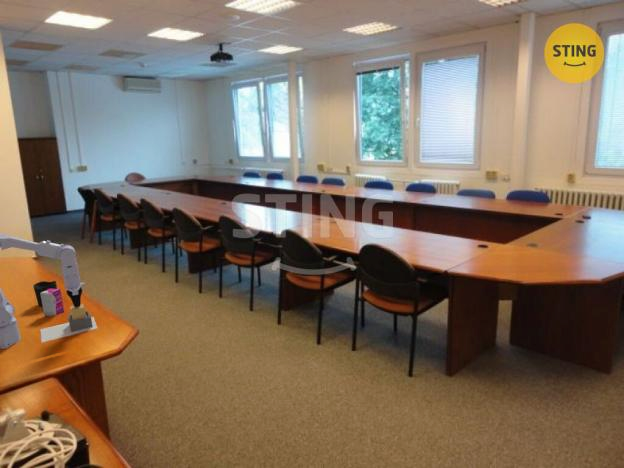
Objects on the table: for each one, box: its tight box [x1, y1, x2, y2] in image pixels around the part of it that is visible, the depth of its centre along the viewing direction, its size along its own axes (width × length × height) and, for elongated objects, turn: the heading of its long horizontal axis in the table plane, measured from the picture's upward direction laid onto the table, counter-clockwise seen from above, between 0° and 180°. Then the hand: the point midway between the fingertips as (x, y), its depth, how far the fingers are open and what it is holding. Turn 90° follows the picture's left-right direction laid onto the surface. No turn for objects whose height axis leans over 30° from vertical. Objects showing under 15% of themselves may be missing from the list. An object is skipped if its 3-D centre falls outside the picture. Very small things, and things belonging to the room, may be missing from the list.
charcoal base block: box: [67, 310, 93, 332], centre depth 183 cm, size 8×8×4 cm
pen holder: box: [32, 280, 58, 307], centre depth 211 cm, size 9×9×10 cm
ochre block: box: [69, 303, 86, 321], centre depth 182 cm, size 5×5×5 cm
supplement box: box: [40, 288, 65, 318], centre depth 198 cm, size 6×6×12 cm
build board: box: [40, 316, 98, 344], centre depth 182 cm, size 20×14×1 cm
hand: (77, 306), depth 182 cm, fingers closed
